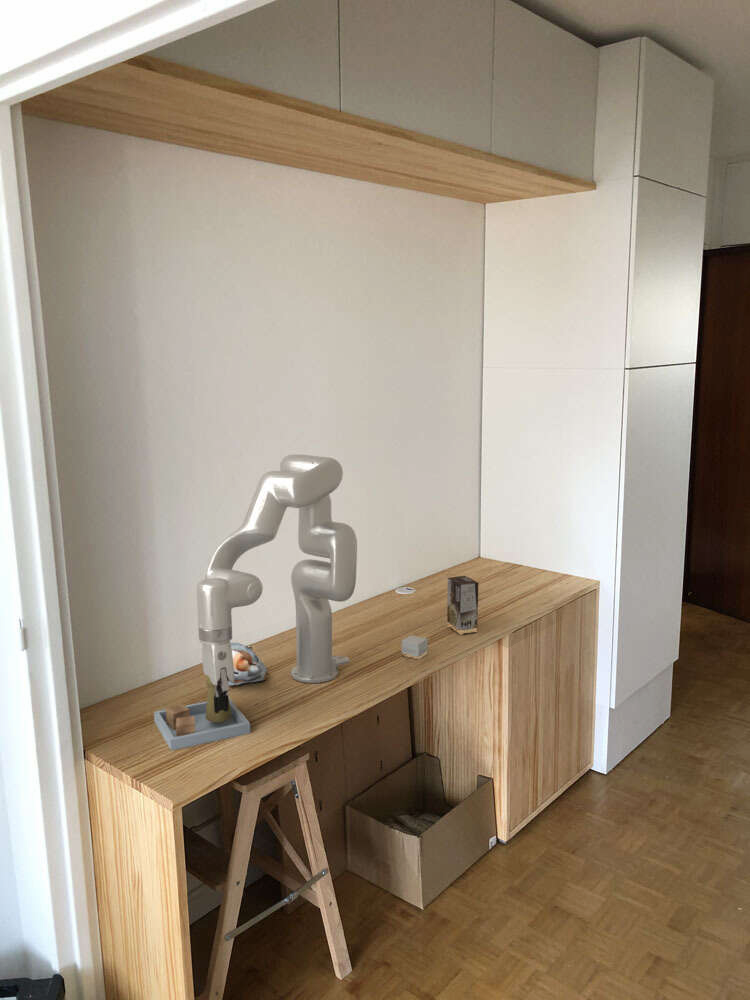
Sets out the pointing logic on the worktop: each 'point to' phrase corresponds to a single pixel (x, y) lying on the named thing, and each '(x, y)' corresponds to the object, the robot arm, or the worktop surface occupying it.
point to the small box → (414, 646)
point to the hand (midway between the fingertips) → (218, 707)
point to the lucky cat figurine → (246, 665)
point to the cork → (210, 705)
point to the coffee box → (462, 602)
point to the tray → (203, 727)
